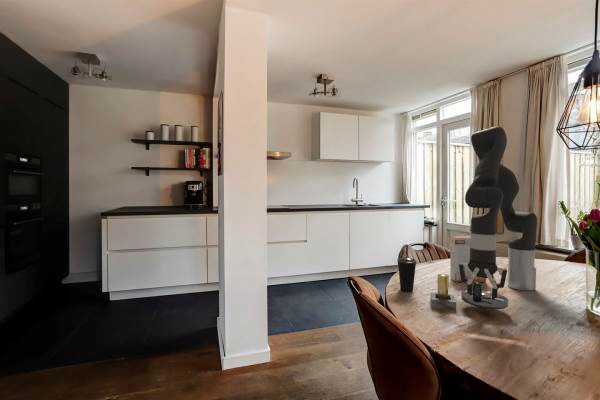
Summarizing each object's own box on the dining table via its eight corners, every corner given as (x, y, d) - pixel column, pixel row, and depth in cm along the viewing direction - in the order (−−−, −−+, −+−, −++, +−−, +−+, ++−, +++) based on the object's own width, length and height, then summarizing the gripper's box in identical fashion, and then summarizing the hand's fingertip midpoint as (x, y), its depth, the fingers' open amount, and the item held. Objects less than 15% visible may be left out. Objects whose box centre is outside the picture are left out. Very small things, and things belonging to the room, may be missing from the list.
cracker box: (479, 278, 143) (480, 235, 142) (486, 282, 137) (487, 237, 136) (449, 278, 144) (450, 235, 143) (454, 282, 138) (455, 237, 137)
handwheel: (470, 291, 114) (471, 271, 114) (514, 301, 103) (514, 280, 103) (454, 300, 105) (454, 279, 105) (499, 313, 94) (500, 289, 94)
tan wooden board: (499, 307, 109) (499, 297, 108) (510, 325, 95) (510, 313, 95) (430, 299, 117) (430, 289, 117) (431, 314, 103) (431, 303, 103)
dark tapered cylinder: (407, 296, 120) (407, 247, 119) (393, 291, 127) (393, 244, 126) (420, 293, 124) (420, 245, 123) (406, 288, 130) (406, 242, 130)
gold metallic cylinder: (447, 303, 110) (448, 274, 110) (448, 307, 107) (449, 277, 106) (437, 302, 112) (437, 273, 111) (437, 305, 108) (438, 276, 108)
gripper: (509, 247, 97) (508, 298, 98) (460, 242, 106) (459, 289, 107) (508, 251, 91) (507, 305, 92) (456, 246, 100) (455, 295, 101)
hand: (481, 296), depth 99 cm, fingers open, 6 cm apart
